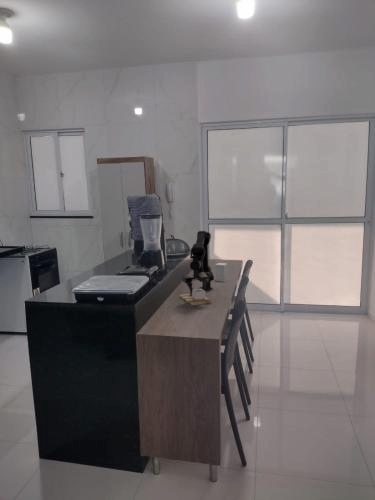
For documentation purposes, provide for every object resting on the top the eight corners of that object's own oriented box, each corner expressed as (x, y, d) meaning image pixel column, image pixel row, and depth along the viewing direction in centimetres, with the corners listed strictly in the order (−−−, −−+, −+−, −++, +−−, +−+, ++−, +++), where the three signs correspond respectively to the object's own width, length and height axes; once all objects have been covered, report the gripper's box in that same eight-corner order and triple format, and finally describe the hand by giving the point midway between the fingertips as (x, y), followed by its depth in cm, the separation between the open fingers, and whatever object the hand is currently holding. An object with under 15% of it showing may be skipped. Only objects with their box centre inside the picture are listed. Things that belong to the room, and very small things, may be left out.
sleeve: (192, 299, 227) (192, 289, 226) (201, 297, 230) (200, 288, 229) (196, 301, 222) (196, 292, 221) (205, 300, 224) (205, 290, 223)
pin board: (179, 296, 237) (179, 288, 236) (198, 294, 242) (197, 285, 241) (192, 305, 219) (192, 296, 218) (211, 302, 224) (211, 293, 223)
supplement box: (228, 279, 278) (228, 263, 276) (224, 282, 272) (224, 265, 270) (219, 278, 282) (219, 262, 280) (215, 281, 276) (214, 264, 273)
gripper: (189, 271, 211) (189, 297, 214) (218, 267, 219) (218, 293, 221) (181, 267, 222) (182, 292, 224) (209, 264, 229) (210, 289, 231)
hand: (198, 292), depth 225 cm, fingers open, 9 cm apart
